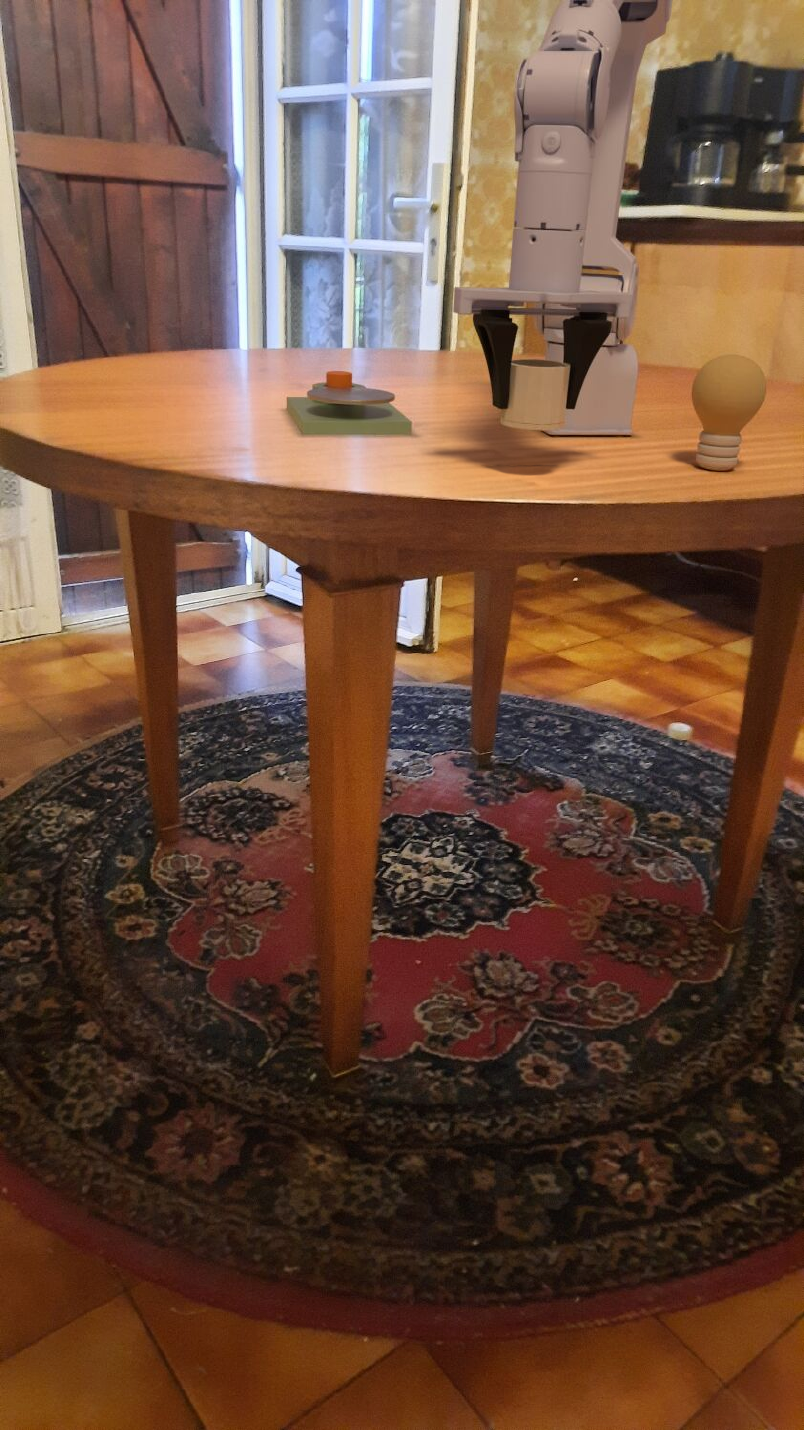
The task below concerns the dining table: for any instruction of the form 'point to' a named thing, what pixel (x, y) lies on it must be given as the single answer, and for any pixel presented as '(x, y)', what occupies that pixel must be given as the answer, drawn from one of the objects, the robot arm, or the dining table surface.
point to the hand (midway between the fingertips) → (533, 407)
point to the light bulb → (726, 407)
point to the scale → (346, 417)
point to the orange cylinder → (338, 379)
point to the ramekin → (537, 395)
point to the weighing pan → (350, 395)
